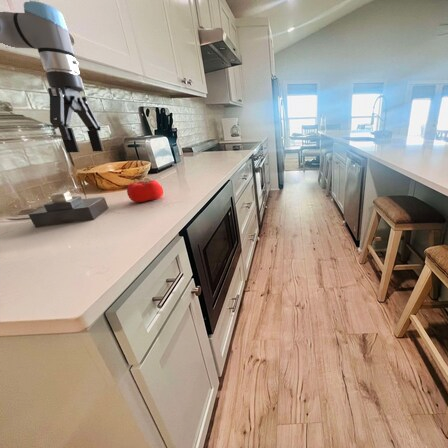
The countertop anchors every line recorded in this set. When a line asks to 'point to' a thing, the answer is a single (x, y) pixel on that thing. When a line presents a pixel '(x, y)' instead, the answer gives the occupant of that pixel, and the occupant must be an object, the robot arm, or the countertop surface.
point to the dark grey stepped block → (69, 211)
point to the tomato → (144, 191)
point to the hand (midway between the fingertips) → (86, 151)
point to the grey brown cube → (61, 197)
